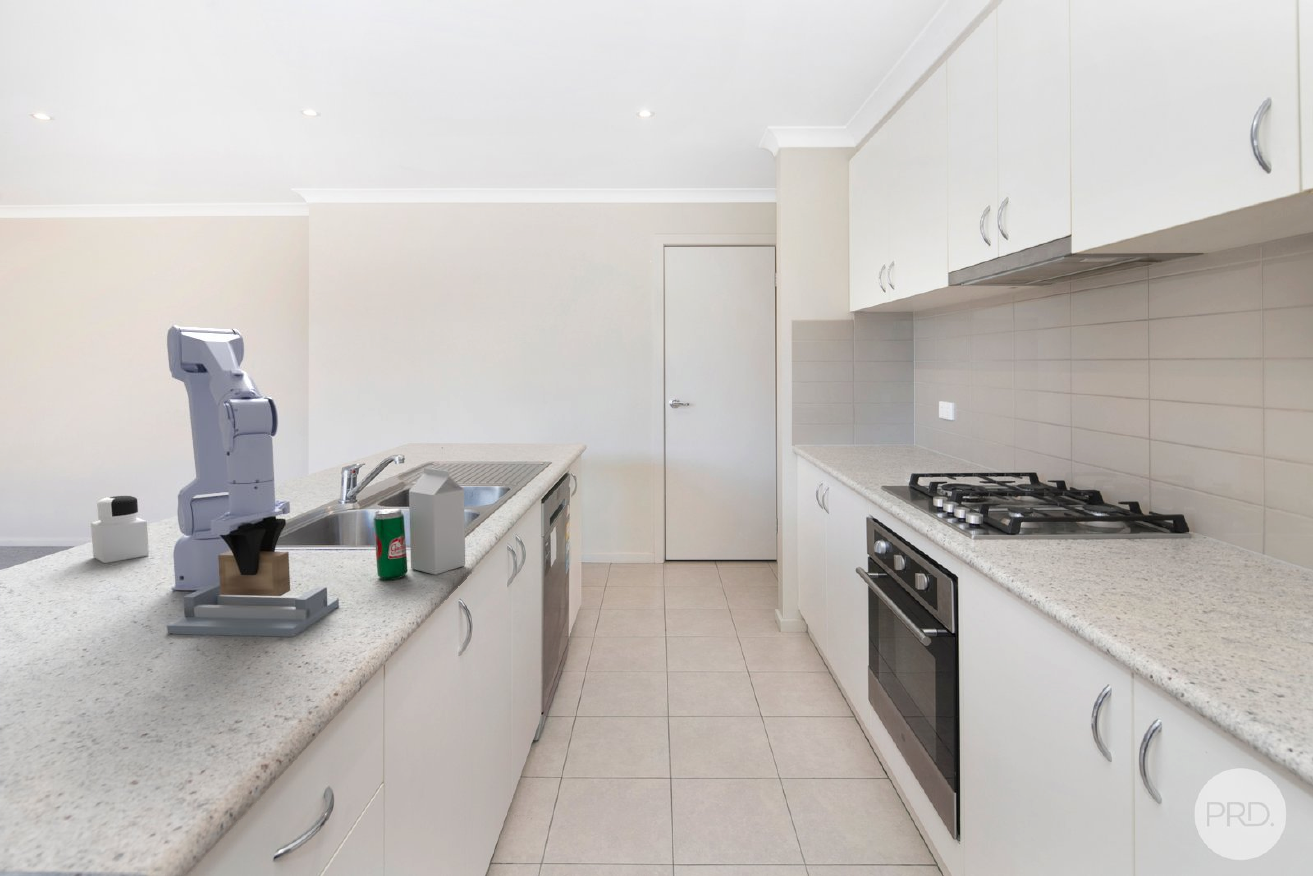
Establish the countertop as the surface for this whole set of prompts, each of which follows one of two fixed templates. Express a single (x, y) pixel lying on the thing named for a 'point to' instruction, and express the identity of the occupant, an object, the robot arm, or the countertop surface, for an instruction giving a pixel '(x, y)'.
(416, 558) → the milk carton
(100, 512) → the medicine bottle
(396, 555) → the soda can
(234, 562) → the door slab
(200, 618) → the floor track
